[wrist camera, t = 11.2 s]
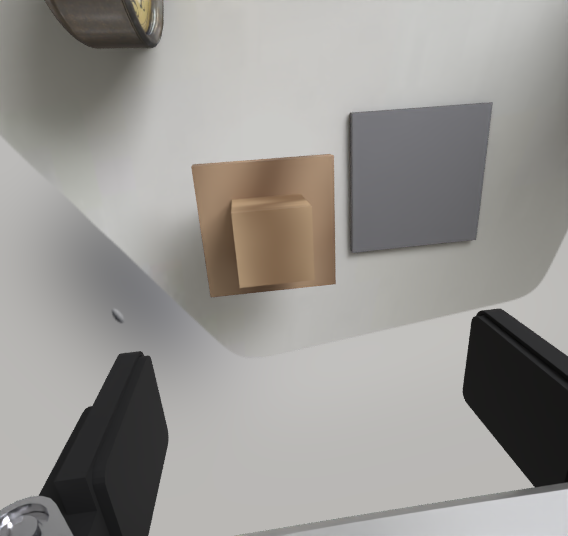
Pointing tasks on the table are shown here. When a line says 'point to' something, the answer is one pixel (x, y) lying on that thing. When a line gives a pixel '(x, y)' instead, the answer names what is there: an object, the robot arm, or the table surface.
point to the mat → (417, 175)
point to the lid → (267, 223)
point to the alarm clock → (111, 21)
